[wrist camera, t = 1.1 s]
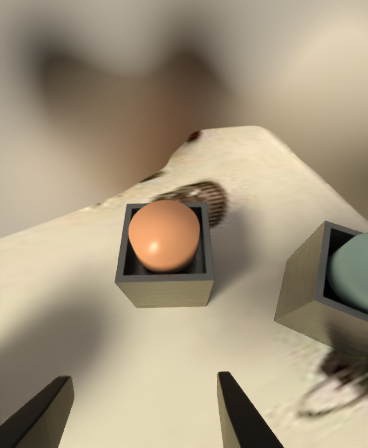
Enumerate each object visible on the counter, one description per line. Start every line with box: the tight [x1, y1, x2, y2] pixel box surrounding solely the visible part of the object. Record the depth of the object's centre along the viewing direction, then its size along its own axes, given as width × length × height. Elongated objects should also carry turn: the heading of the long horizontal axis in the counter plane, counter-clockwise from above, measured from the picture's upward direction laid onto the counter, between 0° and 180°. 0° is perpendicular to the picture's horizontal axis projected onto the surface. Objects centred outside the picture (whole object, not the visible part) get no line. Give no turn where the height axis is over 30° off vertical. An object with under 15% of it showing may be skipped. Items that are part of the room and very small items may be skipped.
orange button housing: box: [115, 202, 214, 308], centre depth 21 cm, size 7×7×8 cm
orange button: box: [128, 200, 200, 274], centre depth 17 cm, size 5×5×2 cm
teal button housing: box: [274, 221, 368, 356], centre depth 19 cm, size 7×7×8 cm
